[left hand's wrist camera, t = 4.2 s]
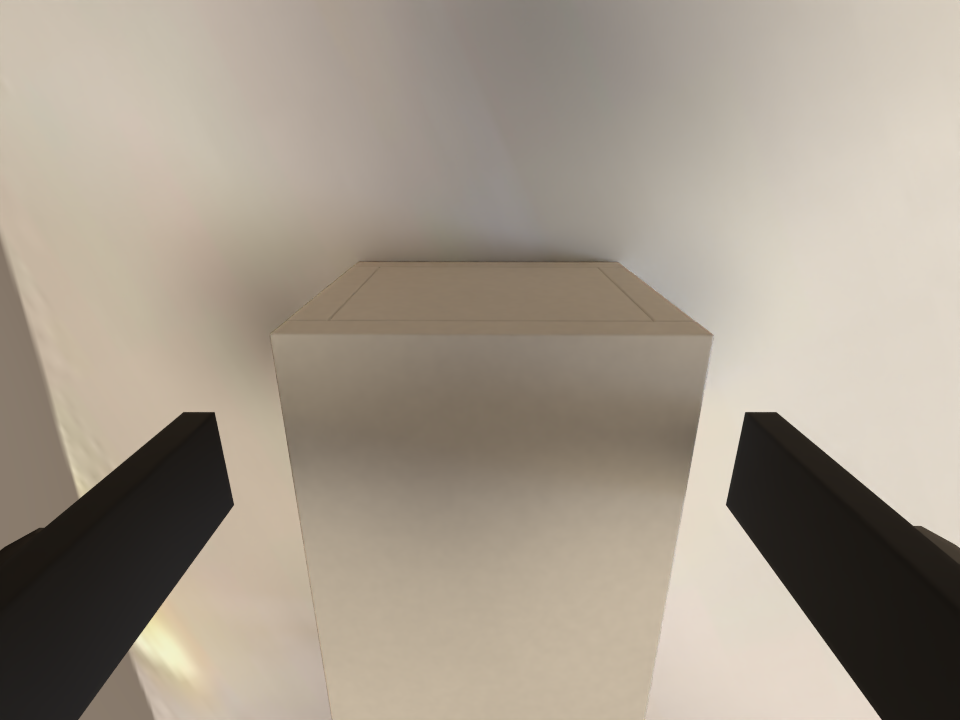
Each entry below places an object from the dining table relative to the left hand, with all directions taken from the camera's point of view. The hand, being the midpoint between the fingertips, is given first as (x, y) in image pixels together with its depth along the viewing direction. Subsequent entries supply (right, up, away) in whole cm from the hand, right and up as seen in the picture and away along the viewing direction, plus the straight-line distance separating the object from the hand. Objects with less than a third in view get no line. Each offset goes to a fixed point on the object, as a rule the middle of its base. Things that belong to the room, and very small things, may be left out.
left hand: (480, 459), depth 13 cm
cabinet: (0, -2, +11) cm, 11 cm away
